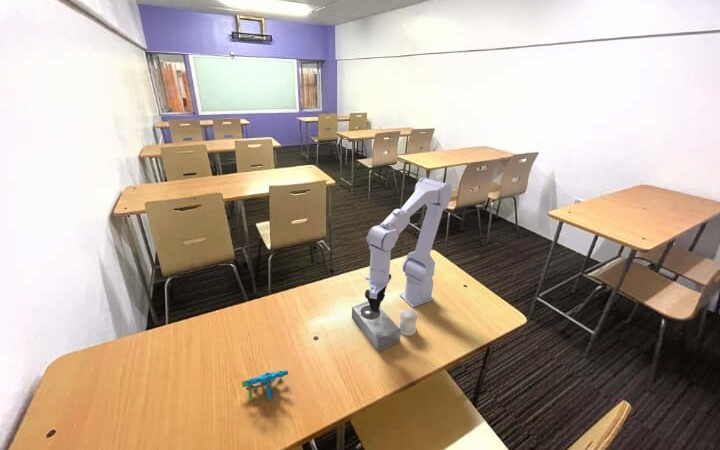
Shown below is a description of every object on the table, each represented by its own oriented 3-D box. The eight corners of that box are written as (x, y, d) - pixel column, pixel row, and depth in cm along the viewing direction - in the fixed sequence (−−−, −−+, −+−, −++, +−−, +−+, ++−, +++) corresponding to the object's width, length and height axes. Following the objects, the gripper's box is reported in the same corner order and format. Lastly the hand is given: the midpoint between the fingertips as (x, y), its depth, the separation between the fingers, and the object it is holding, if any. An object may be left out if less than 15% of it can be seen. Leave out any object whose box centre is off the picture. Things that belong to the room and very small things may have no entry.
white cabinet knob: (408, 320, 99) (410, 306, 97) (419, 332, 95) (421, 317, 92) (394, 326, 97) (396, 312, 94) (405, 338, 92) (407, 323, 90)
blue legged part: (290, 365, 80) (283, 370, 71) (293, 390, 78) (286, 398, 69) (248, 375, 79) (235, 381, 70) (250, 400, 77) (237, 410, 68)
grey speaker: (372, 309, 104) (373, 299, 102) (400, 341, 91) (401, 330, 89) (351, 317, 100) (351, 306, 98) (377, 351, 87) (378, 340, 85)
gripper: (372, 251, 94) (370, 286, 100) (359, 277, 81) (358, 315, 87) (394, 254, 92) (391, 290, 98) (384, 282, 79) (382, 321, 85)
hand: (377, 302), depth 92 cm, fingers open, 7 cm apart
